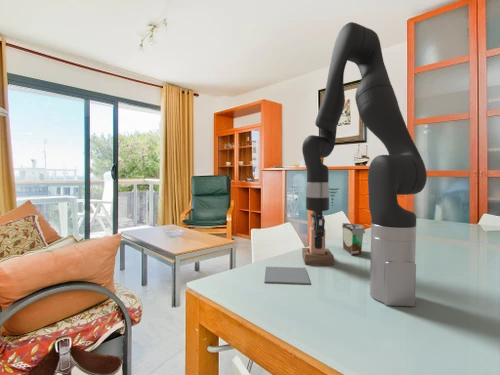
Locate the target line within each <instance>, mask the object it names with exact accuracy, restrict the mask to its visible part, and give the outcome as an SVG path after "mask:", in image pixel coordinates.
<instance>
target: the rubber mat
mask: <svg viewBox="0 0 500 375" xmlns="http://www.w3.org/2000/svg"><path fill="white" fill-rule="evenodd" d="M264 284H287V285H288V284H290V285H311V282H310V279H309V276H308V273H307V269H306V267H294V266H293V267H292V266H291V267H290V266H288V267H287V266H286V267H285V266H265V273H264Z"/></svg>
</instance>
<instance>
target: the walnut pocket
mask: <svg viewBox="0 0 500 375" xmlns="http://www.w3.org/2000/svg"><path fill="white" fill-rule="evenodd" d="M301 251H302V253H301V254H302V255H301V257H302V260H303V262H304V265H308V266H309V265H310V266H311V265H314V266H335V265H334V260H335V257H334V256H335V255H334V254H333V253H332V252H331V251H330V249H329V248H325V254H309V247H302V248H301Z"/></svg>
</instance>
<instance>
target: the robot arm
mask: <svg viewBox="0 0 500 375" xmlns="http://www.w3.org/2000/svg"><path fill="white" fill-rule="evenodd" d="M331 54H332V55H331V58H330V65H329V69H328V74H327V79H326V80H327V81H326V86H325V91H324V94H323V97H322V101H321V104H320V107H319V110H318V113H317V116H316V119H315V122H314V123H315V126H316V127H317V128H318V129H320V131H319V135H314V134H313V135H312V134H311V135H307V137H305V139H304V140H303V143H302V148H301V150H302V156H303V161H304V164H305V167H306V188H305V209H306V211H312V213H311V214H310V227H313V230H315V235H314V236H315V248H316V249H321V248H322V237H324V229H325V224H326V220H325V216H324V215H323V212H326V211H327V212H328V211H329V210H330V186H329V181H330V180H329V179H330V178H329V167H328V165H326V164H324V163H323V162H322V159H321V158H323V159H324V158H327V157H329V156H330V155H331V154H332V152H333V151H334V149H335V145H336V137H337V127H338V124H339V122H340V119H341V117H342V114H343V111H344V109H345V105H346V104H345V103H346V102H345V100H346V99H345V98H346V95H345V87H344V86H345V85H344V75H345V69H346V65H347V64H348V62H351V63H354V64H355V65H356V66H357V68H358V70H359V73H360V78H361V79H360V82H359V84H358V86H357V89H356V91H355V96H354V98H355V104H356V107H357V111H358V115H359V117H360V120H361V121H362V123H363V124H364V126H366V127H367V129H368V130H369V131H370V132H371V133H372V134H373V135H374V136H376V138H377V139H379V140H380V142H381V143H382V144H383V145H384V147H385V149H386V150H387V153H388V154H380V155H376V156H375V157H374V158H373V159H372V160H371V162H370V164H369V167H368V173H367V185H368V186H367V188H368V189H367V190H368V210H369V213H370V218H371V221H370V222H371V224H370V225H371V227H370V264H369V265H370V269H369V270H370V271H369V272H370V275H369V276H370V278H369V282H370V283H369V290H370V291H369V295H370V297H372V298H373V299H375V300H376V301H378V302H381V303H383V304H384V305H385V306H397V307H416V283H417V282H416V280H417V279H416V278H417V276H416V275H417V264H416V252H417V251H416V247H417V246H416V245H417V243H416V241H417V216H416V214H415V213H414V212H413V211H411V210H407V209H406V208H404V207H402V206H401V205H400V204H399V202H398V196H400V195H401V196H407V195H408V196H409V195H410V196H411V195H416V194H420V192H422V190H424V188H425V186H426V184H427V178H428V177H427V176H428V174H427V169H426V166H425V163H424V160H423V158H422V155H421V154H420V151H419V150H418V148H417V146H416V144H415V142H414V140H413V138H412V136H411V134H410V132H409V130H408V128H407V125H406V121H405V120H404V116H403V114H402V111H401V108H400V105H399V102H398V99H397V96H396V93H395V90H394V87H393V85H392V84H391V79H390V77H389V73H388V71H387V68H386V65H385V60H384V57H383V51H382V46H381V41H380V38H379V35H378V34H377V32H376V31H374V30H373V29H371V28H368V27H366V26H365V25H361V24H359V23H356V22H353V21H352V22H348V23H346V24H345V25H343V27H342V28H341V29H340V30H339V32H338V34H337V36H336V39H335V41H334V46H333V49H332V53H331ZM318 230H321V233H318Z"/></svg>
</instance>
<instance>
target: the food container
mask: <svg viewBox="0 0 500 375" xmlns="http://www.w3.org/2000/svg"><path fill="white" fill-rule="evenodd" d="M341 228H342V249H343V251H345V252H347V253H348V254H349V255H350V256H354V257H355V256H360V255H361V254H362V249H363V248H362V247H363V238H364V234H365V233H366V230H365V227H364V225H361V224H357V223H348V222H345V223H344V222H343V223H342V225H341Z"/></svg>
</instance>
